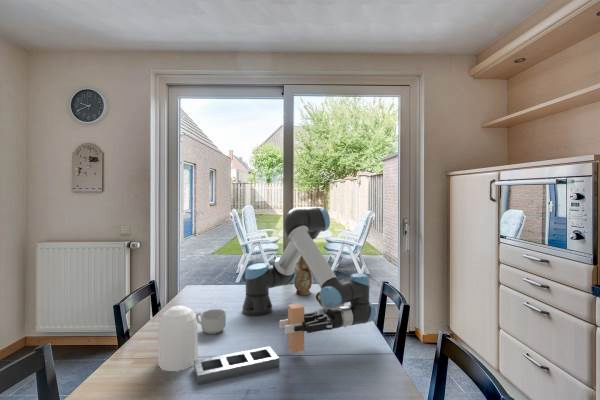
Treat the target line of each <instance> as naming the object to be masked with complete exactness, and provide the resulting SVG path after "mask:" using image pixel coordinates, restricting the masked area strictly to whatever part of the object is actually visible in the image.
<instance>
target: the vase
mask: <svg viewBox="0 0 600 400" xmlns="http://www.w3.org/2000/svg"><path fill="white" fill-rule="evenodd" d="M295 270H296V274H295V275H296V277H295V279H294V281H293V283H294V284H293V285H294V288H295V289H296V291H295V294H296V295H298V296H299V295H300V296H307V295H310V294H311V291H310V290H311V288H312V283H313V282H312V280H313V279H312V277H313V276H312V272H311V271H310V269H309V267H308V266H307V264H306V262H305V261H304V259H303V257H302V256H301V257H300V258H299V260H298V261H297V263H296V265H295Z"/></svg>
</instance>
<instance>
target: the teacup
mask: <svg viewBox="0 0 600 400" xmlns="http://www.w3.org/2000/svg"><path fill="white" fill-rule="evenodd" d="M195 315H196V319H197V324H199V325H200V326H201V329H202V331H203V332H204V333H206V334H208V335H215V334H219V333H220V332H222V331H223V330H224V329H225V328H226V321H227V318H226V317H227V316H226V315H227V312H226V311H225V310H223V309H219V308H214V309H213V308H211V309H208V310H205V311H203V312H197V313H195ZM199 316H200V319H199Z"/></svg>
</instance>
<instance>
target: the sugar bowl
mask: <svg viewBox="0 0 600 400" xmlns="http://www.w3.org/2000/svg"><path fill="white" fill-rule="evenodd" d="M315 299H316V301H317V302H318V303H319V305H320V306H321V308H322V309H323V310H324V311H325V312H326V311H327V310H328V309H330V308H337V307H341V306H345V304H346V303H344V304H340V305H338V306H333V307H327V306H325V305H324V304H323V303H322V302H321V297H320V291H318V292H317V293H316V294H315Z"/></svg>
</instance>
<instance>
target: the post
mask: <svg viewBox="0 0 600 400" xmlns="http://www.w3.org/2000/svg"><path fill="white" fill-rule="evenodd" d="M304 314H305V306H304V305H303V304H301V303H292V304H288V305H287V319H288V325H291V324H297V323H302V325H303V322H304ZM287 348H288V349H289V351H290V352H291V353H292V354H294V353H299V352H303V351H305V331H299V332H293V333H288V334H287Z"/></svg>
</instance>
